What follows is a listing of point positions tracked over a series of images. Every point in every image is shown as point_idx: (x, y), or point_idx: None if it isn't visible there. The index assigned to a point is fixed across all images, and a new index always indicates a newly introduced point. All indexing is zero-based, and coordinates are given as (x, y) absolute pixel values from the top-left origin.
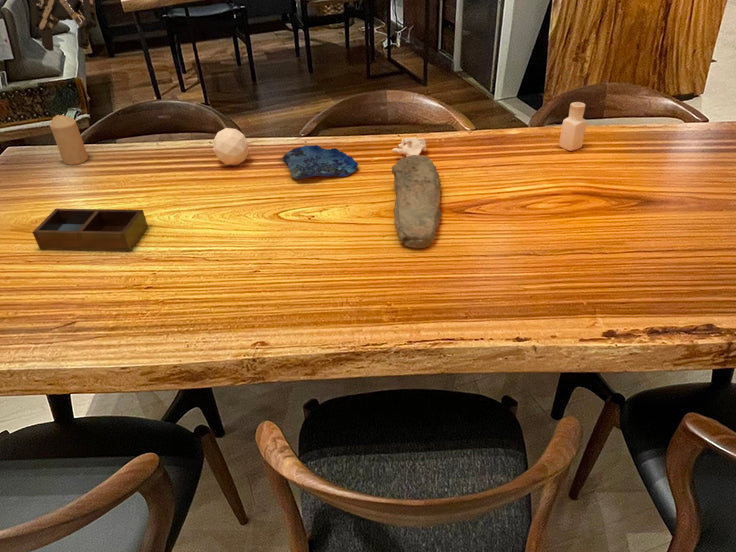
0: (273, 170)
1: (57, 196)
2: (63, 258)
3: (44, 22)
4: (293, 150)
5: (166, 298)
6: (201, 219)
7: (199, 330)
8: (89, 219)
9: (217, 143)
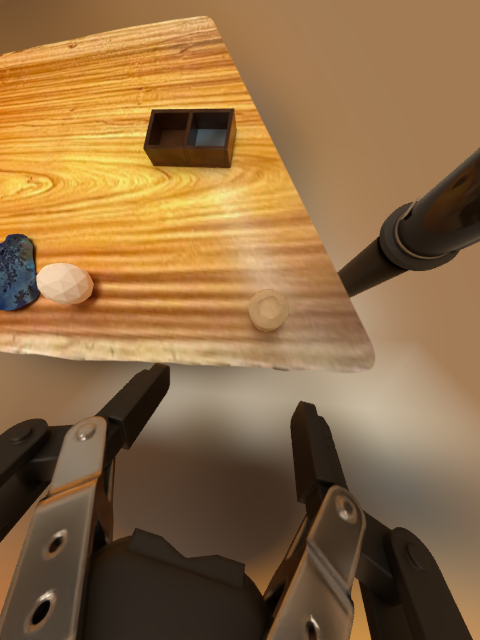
0: None
1: (255, 224)
2: None
3: (328, 533)
4: (22, 303)
5: (127, 79)
6: (111, 178)
7: (105, 53)
8: (188, 130)
9: (69, 267)
